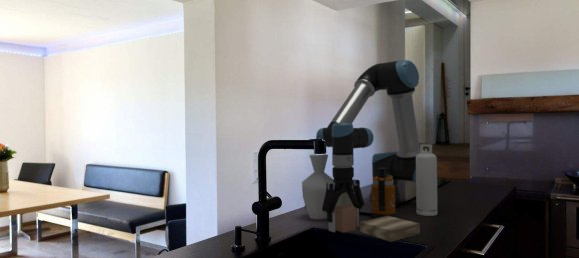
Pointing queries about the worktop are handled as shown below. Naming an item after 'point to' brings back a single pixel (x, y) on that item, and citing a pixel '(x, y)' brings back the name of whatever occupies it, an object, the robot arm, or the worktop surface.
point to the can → (344, 199)
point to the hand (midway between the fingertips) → (344, 228)
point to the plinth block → (390, 228)
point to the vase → (316, 187)
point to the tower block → (345, 218)
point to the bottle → (426, 182)
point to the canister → (383, 195)
